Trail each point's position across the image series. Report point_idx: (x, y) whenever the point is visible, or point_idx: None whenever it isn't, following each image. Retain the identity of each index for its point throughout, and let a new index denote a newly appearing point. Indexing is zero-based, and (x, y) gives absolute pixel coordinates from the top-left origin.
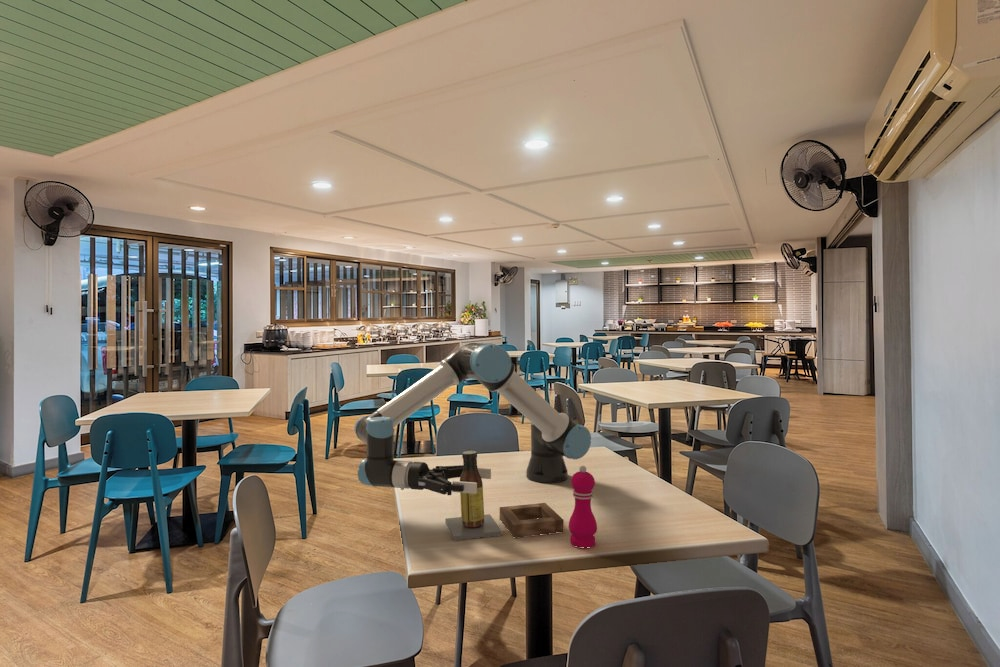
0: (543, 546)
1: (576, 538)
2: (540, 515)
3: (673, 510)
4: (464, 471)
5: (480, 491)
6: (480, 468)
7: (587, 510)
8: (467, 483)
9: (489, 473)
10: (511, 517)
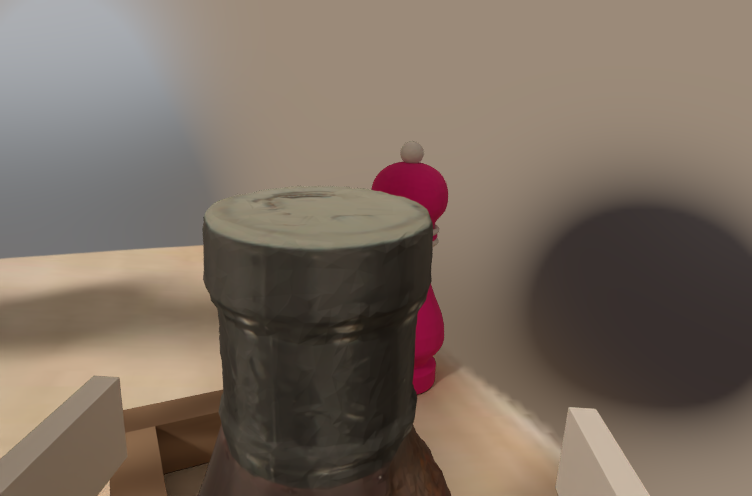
0: (456, 452)
1: (425, 365)
2: (162, 461)
3: (164, 269)
4: (389, 487)
5: None
6: (35, 442)
7: None
8: (630, 471)
9: (116, 416)
10: None
